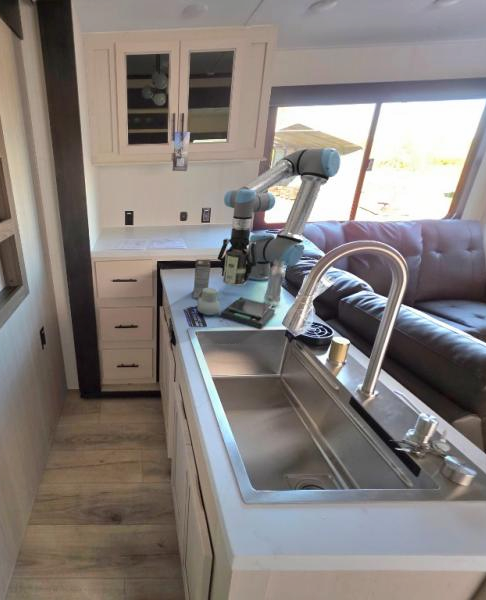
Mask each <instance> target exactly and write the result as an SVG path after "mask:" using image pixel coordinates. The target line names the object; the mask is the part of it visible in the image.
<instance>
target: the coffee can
mask: <svg viewBox="0 0 486 600" xmlns="http://www.w3.org/2000/svg"><path fill="white" fill-rule="evenodd" d="M228 250H229V249H226V250H225V254H226V257H225V266H224V275H223V276H222V282H223V283H224V284H225V285H228V286H236V287H239V286H240V287H241V286H244V285H246V284H247V281H245V274H246V267H247V266H248V263H247V258H248V257H249V256H250V252H249V251H248V252H249V253H248V254H243V252H242V250H233V251H231V252H229V251H228Z"/></svg>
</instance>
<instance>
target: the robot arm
mask: <svg viewBox="0 0 486 600" xmlns="http://www.w3.org/2000/svg"><path fill="white" fill-rule="evenodd" d="M340 166H341V156H340V152H339V151H338V150H337V149H336V148H328V147H325V148H304V149H298V150H297V151H293V152H291V153H290V154H287V155H286V156H284V157H283V158H280V159H279V160H278V161H276V163H275V164H274V165H273V166H272V167H270V168H269V169H267V170H266V171H264V172H263V173H261V174H260V175H258V176H256V177H255V178H254V179H252V180H251V181H249V182H248V183H246V184H244V185H243V186H242V187H240V188H238V189H236V190H235V189H233V190H228V191H227V192H226V193H225V195H224V198H223V201H224V205H225V206H226V207H228V208H232V209H233V216H232V223H231V226H232V228H231V234H230V238H228V237H226V238H224V239H223V240H222V246H221V248H220V251H219V252H218V256H217V260H219V261H220V268H221V276H222V277H223V275H224V266H225V257H226V250H228V251H229V252H231V251H233V250H242V252H243V254H248V253H249V252H250V256H249V257H248V258H247V263H248V266H247V267H246V274H245V281H246V282H247V281H248V280H251V281H257V282H261V281H263V282H264V281H265V282H266V281H268V273H269V270H270V268H271V263H274V261H275V259H281V260H284V265H283V266H285V267H293V266H295V265H296V264H297V263H299V261H300V260H301V259H302V258H303V256H304V253H305V246H304V244H303V241H304V239H303V238H302V235H303V233H304V230H305V228H306V225H307V224H308V220H309V219H310V215H311V213H312V211H313V208H314V206H315V204H316V202H317V199H318V196H319V194H320V192H321V189H322V186H324V185H325V184H327V183H329V182H328V181H329V179H330V178H333V177H335V176H336V175H337V174H338V173H339V170H340ZM298 176H299V178H300V181H301V183H300V186H299V188H298V191H297V194H296V195H295V198H294V201H293V204H292V206H291V208H290V211H289V214H288V216H287V219H286V221H285V225H284V226H283V229H282V231H281V232H279V233H277V235H276V234H274V233H271V232H263V233H262V232H261V233H260V232H259V233H253V234H251V228H252V222H253V213H261V212H267V211H270V210H272V209H273V208H274V207H275V205H276V197H275V195H274V194H273V193H272V192H266V191H268V190H269V189H270V188H272V187H274V186H275V185H277V184H279V183H280V182H281V181H283V180H288V179H289V178H292V177H298ZM228 244H230V247H229V248H228V249H227V247H228ZM248 251H249V252H248Z"/></svg>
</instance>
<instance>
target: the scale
mask: <svg viewBox="0 0 486 600" xmlns="http://www.w3.org/2000/svg"><path fill="white" fill-rule="evenodd" d="M237 300H238V299H236V300H235V301H233V302H232V303H230V304H229V305H228V306H227V307H226V308H225V309H224V310H222V311H221V313H220V318H224V319H227V320H230V321H233V322H236V323H240V324H243V325H246V326H250V327H254V328H257V329H259V330H260V329H262V328H263V327H265V325H266V324H267V323H268V321H269V320H270V319H272V317H273V316H274V315H275V311H276V309H273V308H271V309H270V310H269V311H268V312H267V313H266V314H265V315H264V316H263V317H262V318H261V319H259V318H256V317H252V316H249V315H245V314H242V313H238V312H235V311H231V310H228V307H230V306H231V305H232V304H233V303H235V302H236V301H237Z"/></svg>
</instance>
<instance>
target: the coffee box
mask: <svg viewBox="0 0 486 600" xmlns="http://www.w3.org/2000/svg"><path fill="white" fill-rule="evenodd" d="M194 267H195V269H194V279H193V294H192V295H193V296H192V298H193V299H197V300H198V299H199V298H201V297H202V290H203V289H204V288H209V282H210V275H211V260H210V259H195V266H194Z"/></svg>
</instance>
